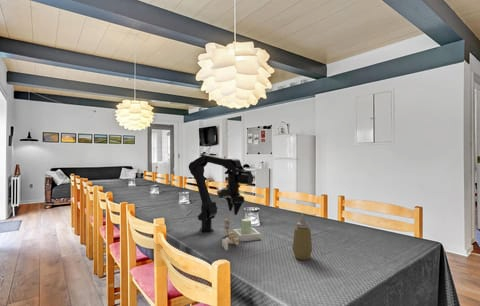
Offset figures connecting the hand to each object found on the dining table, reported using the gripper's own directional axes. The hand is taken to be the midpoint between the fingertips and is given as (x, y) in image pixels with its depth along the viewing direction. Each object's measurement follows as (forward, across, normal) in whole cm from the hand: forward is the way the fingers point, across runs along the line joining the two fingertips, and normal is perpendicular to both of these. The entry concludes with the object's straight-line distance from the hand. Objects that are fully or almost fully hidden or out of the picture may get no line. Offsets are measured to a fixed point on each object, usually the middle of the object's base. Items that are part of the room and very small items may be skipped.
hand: (232, 212), depth 143 cm
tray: (+12, +5, +6) cm, 14 cm away
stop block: (+11, +5, +6) cm, 13 cm away
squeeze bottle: (+12, +37, +19) cm, 43 cm away
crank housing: (+12, +13, -4) cm, 18 cm away
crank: (+10, +7, -3) cm, 13 cm away
